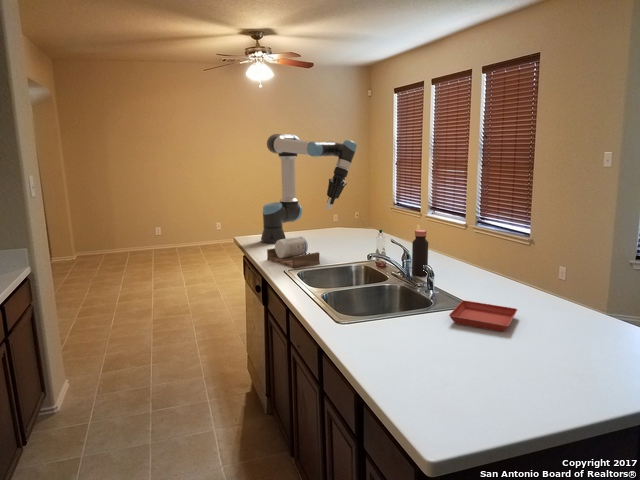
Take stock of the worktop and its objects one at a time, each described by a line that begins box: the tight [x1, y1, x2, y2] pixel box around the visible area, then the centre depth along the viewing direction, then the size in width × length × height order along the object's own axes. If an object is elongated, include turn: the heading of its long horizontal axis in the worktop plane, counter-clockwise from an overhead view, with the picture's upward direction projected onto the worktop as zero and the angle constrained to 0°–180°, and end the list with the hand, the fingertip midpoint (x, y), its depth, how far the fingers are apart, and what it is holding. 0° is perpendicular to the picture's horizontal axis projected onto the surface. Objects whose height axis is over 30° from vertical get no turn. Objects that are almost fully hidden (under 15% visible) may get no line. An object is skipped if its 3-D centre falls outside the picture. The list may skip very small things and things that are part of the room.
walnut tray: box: [266, 247, 321, 269], centre depth 237 cm, size 24×15×6 cm, turn 38°
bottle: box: [411, 229, 429, 278], centre depth 207 cm, size 7×7×20 cm
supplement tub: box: [274, 236, 309, 258], centre depth 242 cm, size 10×10×15 cm
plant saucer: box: [448, 300, 518, 332], centre depth 153 cm, size 18×18×3 cm
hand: (327, 209), depth 259 cm, fingers closed
